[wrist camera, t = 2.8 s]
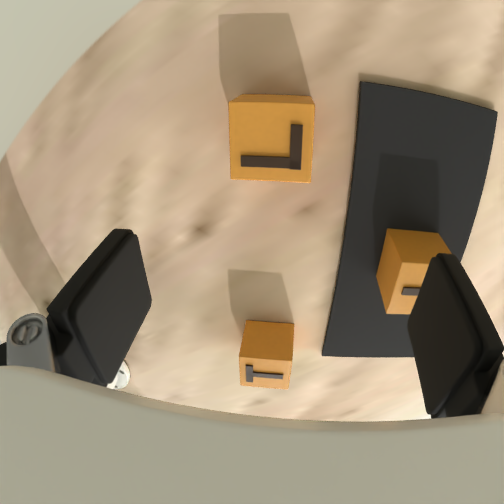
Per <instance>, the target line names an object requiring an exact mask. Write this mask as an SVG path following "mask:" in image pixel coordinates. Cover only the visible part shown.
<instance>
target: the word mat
mask: <svg viewBox="0 0 504 504" xmlns="http://www.w3.org/2000/svg"><path fill="white" fill-rule="evenodd" d="M497 113H498V112H497V111H494V110H491V109H487V108H484V107H481V106H478V105H474V104H471V103H467V102H463V101H460V100H456V99H452V98H448V97H444V96H440V95H435V94H431V93H426V92H421V91H417V90H412V89H406V88H401V87H395V86H389V85H383V84H377V83H370V82H362V81H360V92H359V108H358V121H357V133H356V144H355V155H354V164H353V173H352V182H351V190H350V198H349V205H348V213H347V220H346V227H345V233H344V240H343V246H342V252H341V258H340V264H339V270H338V276H337V281H336V287H335V292H334V297H333V302H332V307H331V312H330V317H329V322H328V327H327V331H326V336H325V341H324V345H323V350H322V356H335V357H414V353H413V349H412V345H411V341H410V337H409V333H408V329H407V322H408V318H409V316H410V314H386V311H385V307H384V303H383V299H382V296H381V292H380V288H379V285H378V281H377V278H376V275H377V271H378V267H379V262H380V258H381V254H382V250H383V246H384V241H385V237H386V232H387V229H388V228H389V229H400V230H412V231H422V232H433V233H439V235H440V236H441V238H442V239H443V241H444V242H445V244H446V245H447V247H448V249H449V250H450V252H451V253H452V254H455V255H456V257H457V258H458V260H459V261H460V262H461V259H462V257H463V254H464V251H465V248H466V245H467V242H468V239H469V236H470V233H471V230H472V226H473V223H474V220H475V216H476V213H477V210H478V206H479V202H480V199H481V195H482V191H483V187H484V183H485V179H486V174H487V170H488V165H489V160H490V155H491V150H492V145H493V139H494V133H495V127H496V120H497Z"/></svg>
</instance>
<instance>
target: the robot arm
mask: <svg viewBox="0 0 504 504" xmlns="http://www.w3.org/2000/svg"><path fill="white" fill-rule="evenodd" d="M151 302H152V298H151V294H150V290H149V286H148V281H147V277H146V273H145V268H144V264H143V259H142V255H141V250H140V245H139V240H138V237H137V235H136V234H133V232H132V230H130V229H114V230H112V231H111V233H110V234H109V235H108V236H107V237H106V238H105V239H104V240H103V241H102V242H101V244H100V245H99V246H98V247H97V248H96V249H95V250H94V252H93V253H92V254H91V255H90V256H89V257H88V258H87V260H86V261H85V262H84V263H83V264H82V265H81V267H80V268H79V269H78V270H77V271H76V273H75V274H74V275H73V276H72V277H71V279H70V280H69V281H68V282H67V283H66V285H65V286H64V287H63V288H62V290H61V291H60V292H59V293H58V295H57V296H56V297H55V299H54V300H53V301H52V302H51V304H50V305H49V306H48V308H47V311H48V313H49V315H48V316H47V318H45V317H44V316H43V315H41V314H38V313H31V314H27V315H24V316H22V317H20V318H19V319H18V320H16V321H15V322H14V323H13V324H12V325H11V327H10V329H9V331H8V333H7V342H5V343H3V344H1V345H0V504H504V357H503V354H502V352H503V351H504V346H503V344H502V341H501V339H500V337H499V335H498V333H497V331H496V328H495V326H494V324H493V322H492V320H491V318H490V316H489V314H488V312H487V310H486V308H485V306H484V304H483V302H482V301H481V299H480V297H479V295H478V293H477V291H476V289H475V288H474V286H473V284H472V282H471V280H470V279H469V277H468V275H467V273H466V272H465V270H464V268H463V267H462V265H461V263H460V261H459V260H458V258H457V257H456V255H455V254H447V253H438V254H437V255H436V257H432V258H431V260H430V263H429V266H428V269H427V271H426V274H425V277H424V280H423V283H422V285H421V288H420V291H419V293H418V296H417V298H416V301H415V304H414V306H413V309H412V311H411V313H410V316H409V318H408V322H407V329H408V333H409V337H410V341H411V345H412V349H413V353H414V357H415V361H416V365H417V370H418V374H419V379H420V383H421V388H422V393H423V398H424V403H425V408H426V412H427V413H428V414H431V419H420V420H404V421H378V422H339V421H311V420H294V419H281V418H270V417H260V416H251V415H243V414H235V413H227V412H221V411H214V410H208V409H202V408H196V407H190V406H185V405H179V404H174V403H169V402H164V401H160V400H155V399H151V398H146V397H142V396H138V395H134V394H130V393H126V392H122V391H118V390H114V389H121V388H124V387H125V386H126V385H127V384H128V382H129V379H130V371H129V369H128V367H127V365H126V363H125V362H124V361H123V360H124V358H125V356H126V354H127V352H128V350H129V348H130V346H131V344H132V342H133V340H134V338H135V336H136V334H137V332H138V331H139V329H140V327H141V325H142V323H143V321H144V319H145V317H146V315H147V313H148V311H149V309H150V307H151Z"/></svg>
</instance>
